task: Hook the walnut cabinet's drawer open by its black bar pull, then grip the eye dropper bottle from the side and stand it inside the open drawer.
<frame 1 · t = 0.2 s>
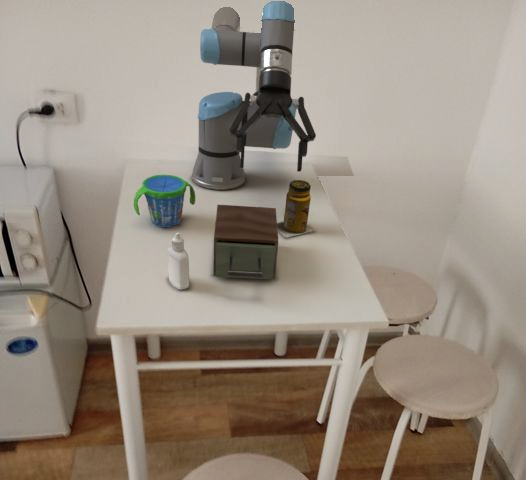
hand: (270, 168, 131), 16 cm above the table, tool tilted 35°, fingers open, 13 cm apart
eye dropper bottle: (178, 284, 120), on the table
cabinet: (244, 259, 129), on the table
snack cup: (166, 222, 141), on the table
drawer: (245, 253, 122), point 5 cm above the table, slide at 0.5 cm
condiment: (291, 229, 143), on the table
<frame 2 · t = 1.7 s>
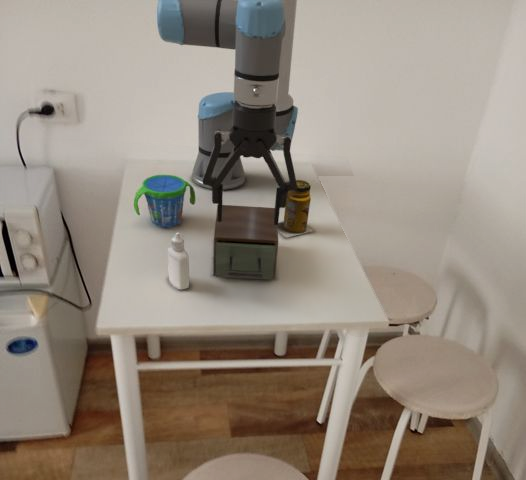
hand: (247, 220, 110), 16 cm above the table, tool pointing down, fingers open, 10 cm apart
nothing on the table moved.
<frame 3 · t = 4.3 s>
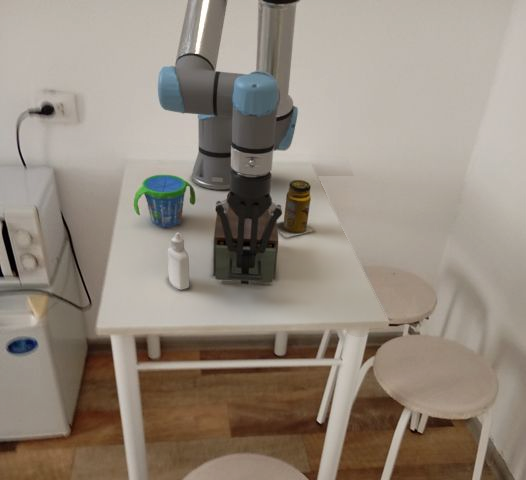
hand: (244, 280, 116), 4 cm above the table, tool pointing down, fingers closed
drawer: (245, 256, 121), point 5 cm above the table, slide at 1.7 cm
everything else where it was.
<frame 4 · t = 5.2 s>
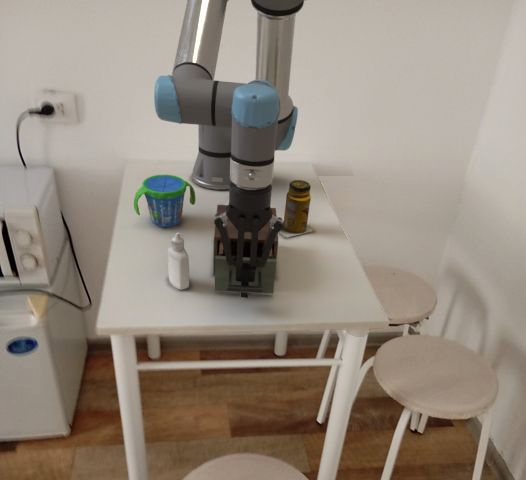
hand: (244, 293, 113), 3 cm above the table, tool pointing down, fingers closed
drawer: (245, 266, 118), point 5 cm above the table, slide at 6.1 cm, touching gripper
everything else where it was.
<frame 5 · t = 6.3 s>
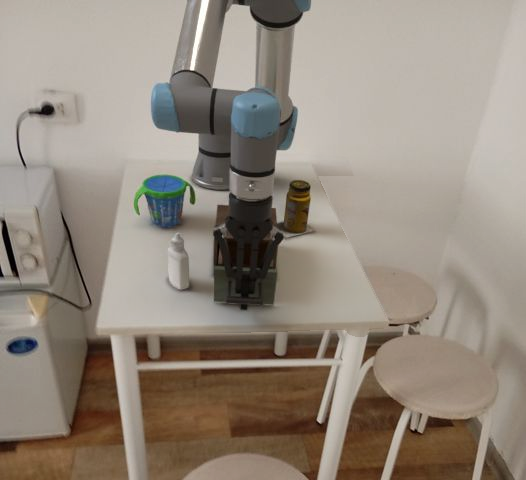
hand: (244, 305, 110), 3 cm above the table, tool pointing down, fingers closed
drawer: (244, 276, 115), point 5 cm above the table, slide at 10.0 cm
everything else where it was.
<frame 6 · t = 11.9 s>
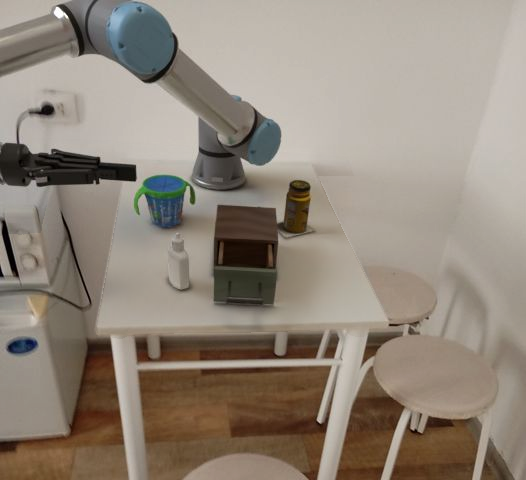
hand: (135, 173, 104), 24 cm above the table, tool horizontal, fingers closed
nothing on the table moved.
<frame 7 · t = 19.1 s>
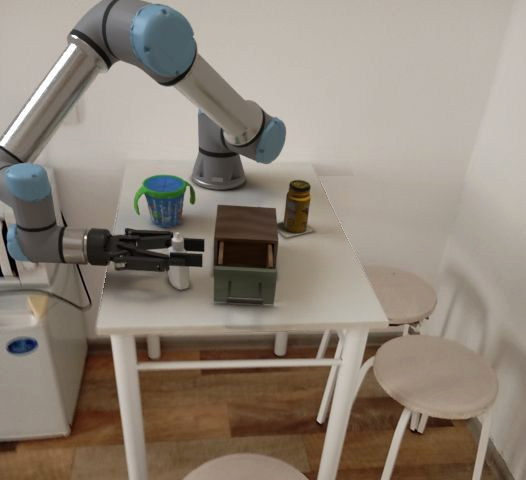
hand: (203, 252, 115), 8 cm above the table, tool horizontal, fingers closed on eye dropper bottle, 5 cm apart
eye dropper bottle: (178, 284, 120), on the table, touching gripper
everything else where it was.
when the fingers open (12 cm above the table, at t = 31.6 s): eye dropper bottle drops 2 cm, resting on drawer.
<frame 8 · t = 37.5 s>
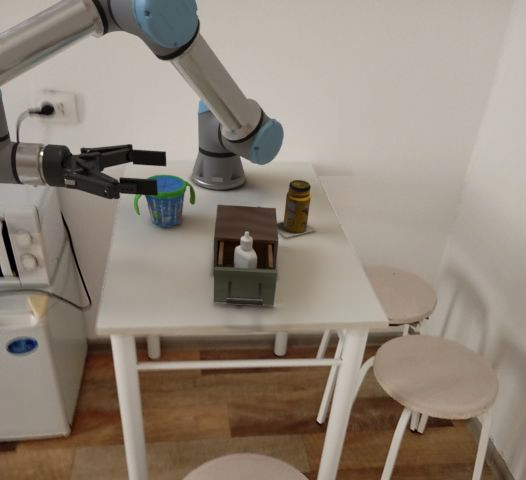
hand: (161, 172, 105), 24 cm above the table, tool horizontal, fingers open, 13 cm apart
eye dropper bottle: (244, 284, 118), point 2 cm above the table, touching drawer
drawer: (244, 277, 114), point 5 cm above the table, slide at 10.2 cm, touching eye dropper bottle
everything else where it was.
at the end: drawer slide at 10.2 cm; eye dropper bottle inside the target area in the drawer (0.1 cm from its centre), point 1.8 cm above the cabinet's base; eye dropper bottle tilted 0° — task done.
